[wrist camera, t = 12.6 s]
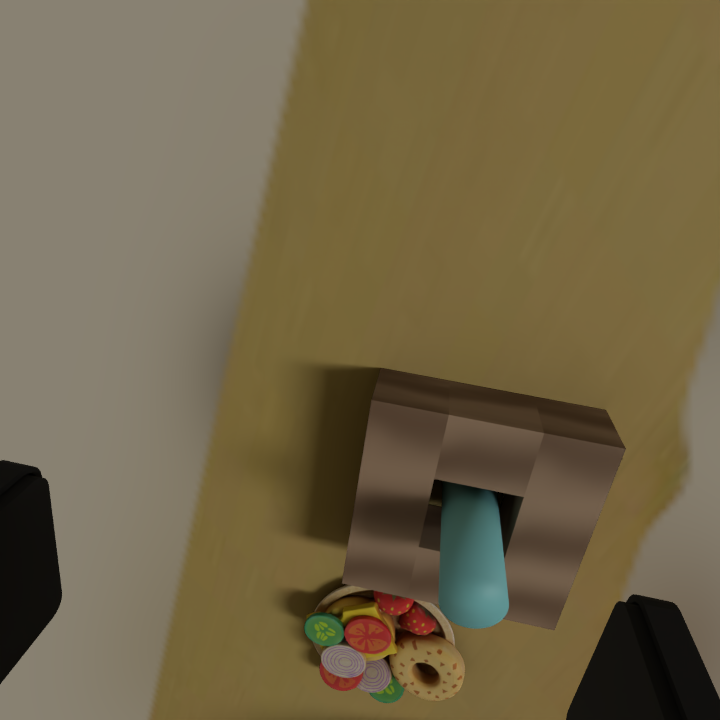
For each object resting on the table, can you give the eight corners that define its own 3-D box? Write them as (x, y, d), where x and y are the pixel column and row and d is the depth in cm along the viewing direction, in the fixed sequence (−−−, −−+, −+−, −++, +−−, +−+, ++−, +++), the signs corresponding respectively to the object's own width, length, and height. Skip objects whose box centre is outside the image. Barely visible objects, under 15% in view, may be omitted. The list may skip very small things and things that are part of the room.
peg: (448, 453, 43) (445, 569, 32) (501, 463, 43) (516, 585, 32) (438, 495, 45) (432, 619, 34) (489, 506, 44) (499, 634, 33)
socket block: (380, 367, 41) (371, 399, 36) (606, 410, 40) (625, 448, 35) (352, 538, 48) (341, 583, 43) (544, 579, 46) (554, 630, 42)
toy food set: (475, 669, 52) (477, 703, 49) (345, 689, 56) (339, 721, 53) (425, 559, 48) (423, 589, 45) (287, 588, 52) (277, 617, 49)
